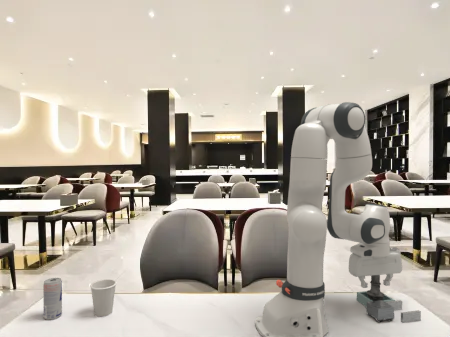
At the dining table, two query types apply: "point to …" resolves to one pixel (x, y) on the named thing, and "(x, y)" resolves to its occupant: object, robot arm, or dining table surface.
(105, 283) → the dixie cup
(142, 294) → the dining table surface
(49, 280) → the energy drink
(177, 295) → the dining table surface
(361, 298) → the tray
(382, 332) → the dining table surface
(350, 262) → the robot arm
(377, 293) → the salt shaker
